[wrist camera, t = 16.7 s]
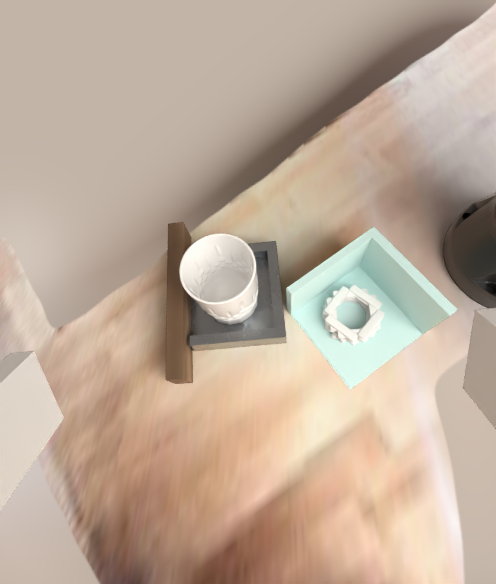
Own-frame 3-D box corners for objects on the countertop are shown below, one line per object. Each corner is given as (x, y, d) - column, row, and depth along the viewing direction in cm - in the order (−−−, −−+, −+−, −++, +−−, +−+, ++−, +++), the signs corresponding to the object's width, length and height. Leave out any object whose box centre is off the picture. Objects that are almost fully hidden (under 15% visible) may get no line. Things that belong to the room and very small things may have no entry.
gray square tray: (276, 252, 47) (275, 241, 44) (286, 342, 43) (286, 337, 40) (191, 261, 48) (185, 251, 45) (192, 351, 44) (185, 346, 41)
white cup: (193, 285, 46) (169, 250, 37) (248, 262, 46) (238, 221, 37) (214, 339, 43) (193, 316, 34) (272, 314, 44) (268, 284, 34)
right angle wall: (286, 309, 44) (286, 288, 37) (360, 256, 46) (373, 226, 39) (350, 389, 40) (363, 382, 33) (429, 328, 42) (458, 309, 35)
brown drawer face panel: (191, 237, 49) (183, 222, 46) (192, 382, 42) (183, 378, 39) (177, 238, 50) (168, 223, 46) (176, 383, 42) (165, 380, 39)
